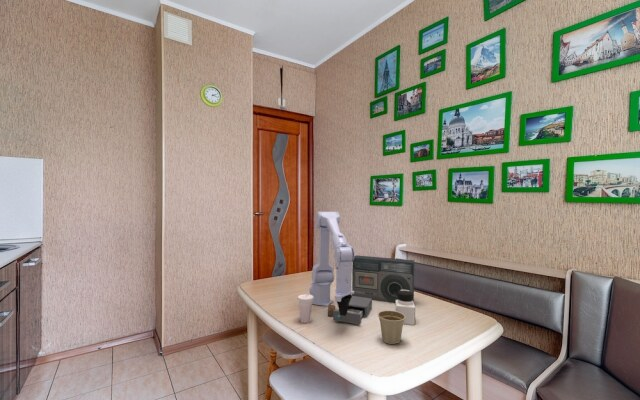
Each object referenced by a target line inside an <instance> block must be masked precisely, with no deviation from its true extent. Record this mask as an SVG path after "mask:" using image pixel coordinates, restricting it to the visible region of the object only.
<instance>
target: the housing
mask: <svg viewBox="0 0 640 400" xmlns="http://www.w3.org/2000/svg"><path fill="white" fill-rule="evenodd" d="M348 309H354V310H360V311H361V310H362V309H364V314H363V316H362V317H361V318H364V319H367V318H368V316H369V314H370V312H371V311H372V309H373V300H372V298H365V297H357V296H352V298H351V300H350V302H349V306H348Z"/></svg>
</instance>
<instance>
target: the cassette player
mask: <svg viewBox="0 0 640 400" xmlns="http://www.w3.org/2000/svg"><path fill="white" fill-rule="evenodd" d="M351 290H352V291H354V294H351V295H352V296H357V297H365V298H372V301H375V302H382V303H390V304H396V300H397V298H398V291H400V290H408V291H411V292H412V293H413V302H415V260H414V259H404V258H403V259H402V258H391V257H390V258H389V257H381V256H380V257H379V256H367V255H358V254H357V255H354V261H353V262H352V273H351Z"/></svg>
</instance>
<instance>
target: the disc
mask: <svg viewBox="0 0 640 400" xmlns="http://www.w3.org/2000/svg"><path fill="white" fill-rule="evenodd" d="M347 312H352V313H357V311H356V310H354V309H348V310H347Z"/></svg>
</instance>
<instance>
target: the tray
mask: <svg viewBox="0 0 640 400" xmlns="http://www.w3.org/2000/svg"><path fill="white" fill-rule="evenodd" d="M356 311H357V313H352V312H347V314H346V316H343V315H340V312H339V309H336V310H333V317H332V321H336V322H342V323H348V324H354V325H361V323H362V322H361V320H362V318H363V317H362V316H363V314H364V309H362V310H361V311H360V310H356Z"/></svg>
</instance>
